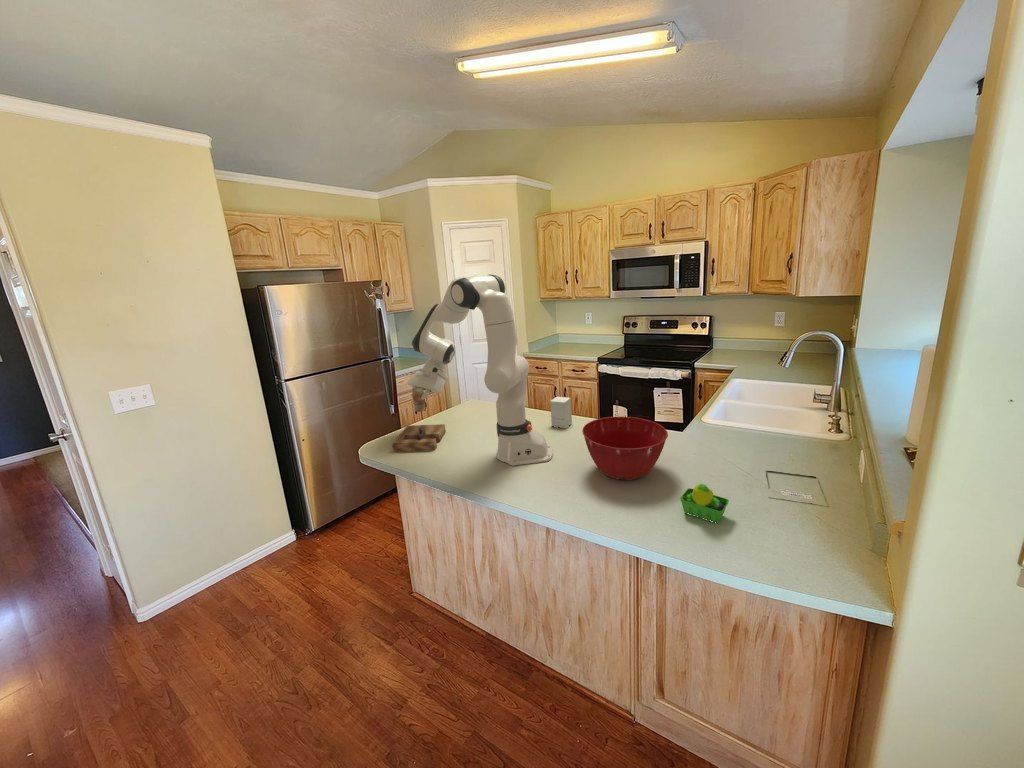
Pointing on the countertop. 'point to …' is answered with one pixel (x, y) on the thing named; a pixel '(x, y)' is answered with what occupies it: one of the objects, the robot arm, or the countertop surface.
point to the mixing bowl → (624, 445)
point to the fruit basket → (703, 503)
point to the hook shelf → (419, 444)
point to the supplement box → (561, 412)
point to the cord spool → (418, 399)
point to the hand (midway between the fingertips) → (417, 397)
